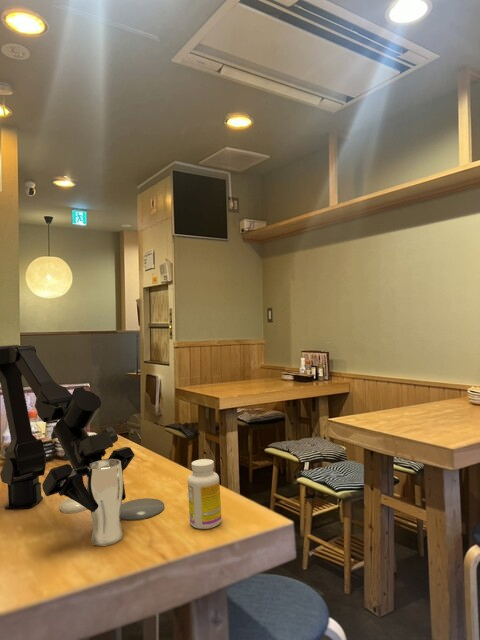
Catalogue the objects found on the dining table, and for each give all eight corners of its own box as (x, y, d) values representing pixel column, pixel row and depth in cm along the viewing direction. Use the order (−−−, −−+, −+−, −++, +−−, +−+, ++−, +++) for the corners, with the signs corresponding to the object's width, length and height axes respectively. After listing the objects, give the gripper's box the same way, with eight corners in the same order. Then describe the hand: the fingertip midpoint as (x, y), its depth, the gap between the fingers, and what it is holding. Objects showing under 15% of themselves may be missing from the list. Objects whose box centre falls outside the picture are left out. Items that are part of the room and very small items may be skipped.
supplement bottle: (227, 519, 101) (224, 459, 101) (211, 532, 95) (208, 468, 95) (200, 514, 104) (197, 456, 104) (183, 527, 98) (180, 465, 98)
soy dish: (56, 514, 108) (56, 508, 108) (65, 503, 115) (65, 497, 115) (87, 513, 108) (87, 507, 108) (95, 502, 115) (95, 496, 115)
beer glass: (115, 548, 90) (112, 469, 90) (82, 546, 92) (78, 468, 92) (131, 531, 97) (127, 458, 97) (99, 530, 98) (96, 458, 98)
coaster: (108, 521, 103) (108, 518, 103) (123, 501, 114) (123, 499, 114) (158, 519, 102) (158, 516, 102) (168, 500, 113) (168, 497, 113)
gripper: (46, 427, 89) (82, 496, 83) (127, 409, 104) (163, 467, 97) (28, 462, 94) (60, 531, 87) (107, 440, 109) (140, 498, 102)
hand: (109, 504), depth 93 cm, fingers closed on beer glass, 7 cm apart
